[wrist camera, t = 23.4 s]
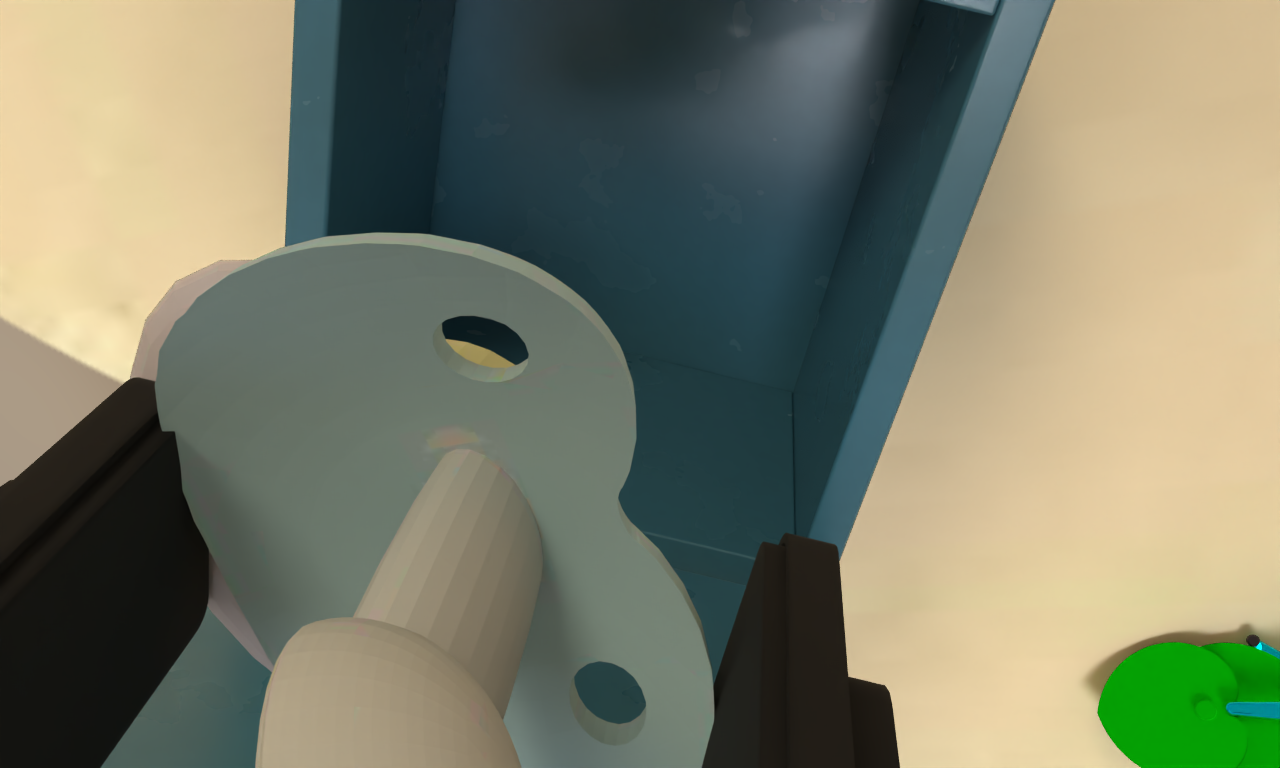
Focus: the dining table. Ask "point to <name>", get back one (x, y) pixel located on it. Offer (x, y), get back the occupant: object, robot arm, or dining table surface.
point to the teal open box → (685, 209)
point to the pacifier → (422, 509)
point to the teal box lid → (236, 682)
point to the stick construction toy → (1196, 706)
